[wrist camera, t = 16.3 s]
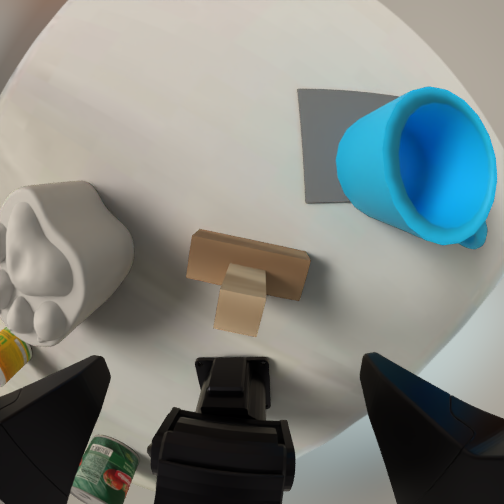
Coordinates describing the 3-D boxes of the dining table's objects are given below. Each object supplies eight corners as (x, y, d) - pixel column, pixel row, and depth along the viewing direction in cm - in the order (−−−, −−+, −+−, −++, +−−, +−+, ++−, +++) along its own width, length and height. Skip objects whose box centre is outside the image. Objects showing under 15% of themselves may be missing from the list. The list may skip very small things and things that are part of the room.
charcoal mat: (448, 202, 19) (450, 202, 19) (305, 202, 20) (306, 202, 19) (442, 106, 17) (443, 105, 17) (297, 89, 17) (297, 88, 17)
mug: (313, 170, 19) (347, 165, 11) (375, 94, 17) (430, 58, 9) (416, 269, 20) (473, 310, 12) (465, 198, 18) (531, 213, 11)
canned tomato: (150, 464, 30) (131, 519, 19) (117, 464, 31) (97, 511, 20) (114, 432, 28) (85, 490, 17) (84, 434, 29) (56, 483, 18)
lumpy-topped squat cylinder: (149, 254, 21) (92, 298, 13) (78, 332, 24) (31, 380, 15) (77, 164, 19) (3, 166, 11) (21, 258, 22) (-35, 285, 13)
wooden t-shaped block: (293, 295, 22) (305, 345, 15) (193, 274, 21) (164, 316, 15) (305, 251, 21) (325, 285, 14) (200, 228, 20) (171, 253, 14)
